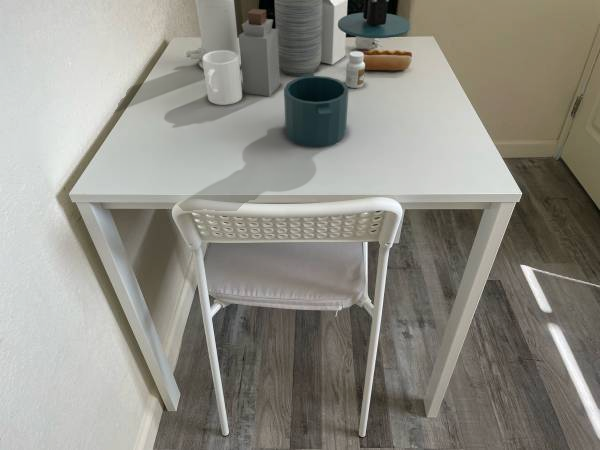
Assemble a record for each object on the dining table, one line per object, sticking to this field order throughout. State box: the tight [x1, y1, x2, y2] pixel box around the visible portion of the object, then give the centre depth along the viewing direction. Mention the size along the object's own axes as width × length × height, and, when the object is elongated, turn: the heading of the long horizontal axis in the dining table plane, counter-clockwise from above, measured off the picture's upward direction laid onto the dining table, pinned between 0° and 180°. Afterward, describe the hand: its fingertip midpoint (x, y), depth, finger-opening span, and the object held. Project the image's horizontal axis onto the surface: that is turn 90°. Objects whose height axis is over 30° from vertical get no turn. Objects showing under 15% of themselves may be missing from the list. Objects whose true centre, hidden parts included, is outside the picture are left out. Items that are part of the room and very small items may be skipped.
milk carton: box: [320, 0, 349, 65], centre depth 121 cm, size 7×7×19 cm
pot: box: [283, 73, 350, 148], centre depth 94 cm, size 13×18×10 cm
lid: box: [338, 0, 411, 39], centre depth 85 cm, size 14×14×6 cm
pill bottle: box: [345, 50, 365, 89], centre depth 111 cm, size 4×4×8 cm
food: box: [360, 49, 413, 71], centre depth 120 cm, size 14×6×5 cm, turn 87°
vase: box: [274, 0, 323, 77], centre depth 114 cm, size 12×12×23 cm
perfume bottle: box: [238, 8, 281, 97], centre depth 107 cm, size 7×7×18 cm
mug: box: [202, 50, 243, 106], centre depth 105 cm, size 8×12×10 cm
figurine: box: [354, 36, 383, 51], centre depth 130 cm, size 4×8×5 cm, turn 67°
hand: (374, 20), depth 86 cm, fingers closed on lid, 2 cm apart
